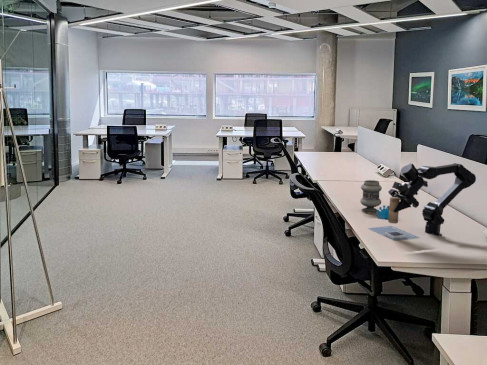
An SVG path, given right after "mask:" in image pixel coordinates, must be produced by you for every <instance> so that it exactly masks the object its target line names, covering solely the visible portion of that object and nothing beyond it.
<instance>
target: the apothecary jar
mask: <svg viewBox="0 0 487 365" xmlns="http://www.w3.org/2000/svg"><path fill="white" fill-rule="evenodd" d="M360 189H361V190H362V198H360V201H359V202H360V204H361V205H362V206H364V207H363V208H361V211H362V210H363V211H362V212H364V211H365V212H364V213H368V212H372V213H371V214H375V213H376V212H377V210H378V208H377V207H380V205H381V204H382V200H381V198H380V192H381V191H382V186H381V184H380V181H378V180H374V179H368V180H367V179H366V180H364V181H363V184H362V185H361V186H360ZM377 213H378V212H377ZM377 213H376V214H377Z"/></svg>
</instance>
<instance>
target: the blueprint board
mask: <svg viewBox="0 0 487 365" xmlns="http://www.w3.org/2000/svg"><path fill="white" fill-rule="evenodd" d="M367 229H368V230H370V231H371V232H375V233H377V234H378V235H380V236H383V237H386V238H387V239H389V240H392V241H394V242H395V241H403V240H405V241H406V240H414V239H420V237H419V236H417V235H415V234H412V233H410V232H407V231H405V230H402V229H400V228H398V227H395V226H393V225H388V226H387V225H386V226H376V227H367ZM392 231H398V232H401V233H403V234H405V235H407V238H405V239H396V240H393V239H391V238H389V237H387V236H384V232H392ZM393 236H399V235H393Z"/></svg>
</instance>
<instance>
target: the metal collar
mask: <svg viewBox="0 0 487 365" xmlns="http://www.w3.org/2000/svg"><path fill="white" fill-rule="evenodd" d="M393 235H399V236H393ZM385 236H387V237H389V238H391V239H393V240H392V241H394V240H396V239H405V238H407V235H405V234H403V233H401V232H398V231H392V232H384V236H383V237H385ZM387 237H386V238H387ZM389 238H388V239H389ZM391 239H390V240H391ZM405 240H406V239H405ZM396 241H397V240H396Z"/></svg>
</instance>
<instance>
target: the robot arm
mask: <svg viewBox="0 0 487 365" xmlns="http://www.w3.org/2000/svg"><path fill="white" fill-rule="evenodd" d="M400 174H401V175H402V176H403V177H404V178H405V179H406V181H407V182H408V184H407V183H405V182H402V183H401V182H397V181H394V182H393V185H392V187H391V188H390V189H389V191H388V194H389V195H390V197H398V198H400V200H399V204H398V206H397V207H396V208H395V209H394V212H395V213H396V212H398V211H399V212H400V211H404V210H405V209H408V208H412V207H413V208H415V209H417V208H418V207H419V205H420V202H419V201H418V200H417V198H416V197H415V196H418V195H419V193H418V192H419V191H420V190H421V189H422V187H425V188H428V186H429V185H428V180H433V179H435V178H437V177H438V176H442V175H448V174H453V175H454V177H455V179H454V183H453V184H452V185H451V186H450V187H449V188H448V189H447V190H446V191H445V192H444V193H443V194H442V195H441V196H440V197H439V198H438V199H437V200H436V201H435V202H432V201H431V202H430V201H428V202H427V204H426V205H425V206H423V209H422V217H423V220H424V221H425V228H424V233H426V234H428V235H429V234H430V235H431V234H432V235H435V236H443V234H442V233H441V225H443V224H444V223H445V219H444V217H443V216H442V215H443V213H444V209H445V208H446V207H447V206H448V205H449V204H450V203H451V202H452V201H453V200H454V199H455V198H456V197H457V196H458V195H459V194H460V193H461V192H462V191H463V190H464V189H467V188H470V187H471V186H473V185H474V184H475V183H476V180H477V177H476V174H475V173H473V172H472V171H471V170H469V169H468V168H466V167H465V166H464V165H463V164H461V163H456V162H455V163H450V164H445V165H439V166H429V165H428V166H427V165H421V166H419V168H416V166H415V164H413V163H412V162H409V164H407V165H405V166H402V168H401V169H400ZM425 179H426V180H425ZM388 210H389V208H388Z"/></svg>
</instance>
